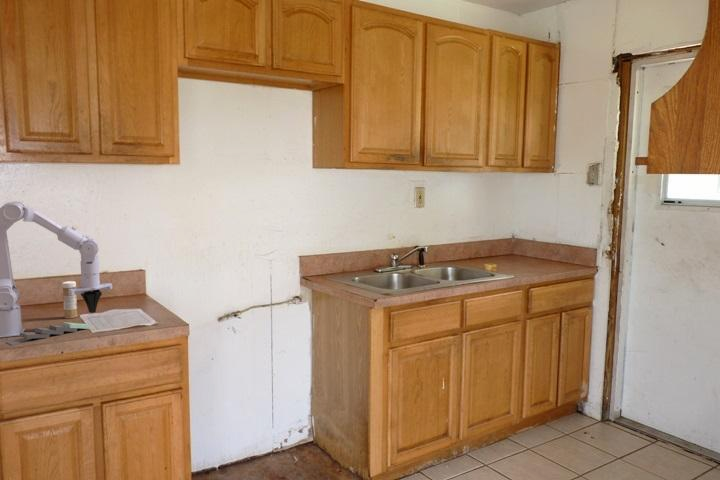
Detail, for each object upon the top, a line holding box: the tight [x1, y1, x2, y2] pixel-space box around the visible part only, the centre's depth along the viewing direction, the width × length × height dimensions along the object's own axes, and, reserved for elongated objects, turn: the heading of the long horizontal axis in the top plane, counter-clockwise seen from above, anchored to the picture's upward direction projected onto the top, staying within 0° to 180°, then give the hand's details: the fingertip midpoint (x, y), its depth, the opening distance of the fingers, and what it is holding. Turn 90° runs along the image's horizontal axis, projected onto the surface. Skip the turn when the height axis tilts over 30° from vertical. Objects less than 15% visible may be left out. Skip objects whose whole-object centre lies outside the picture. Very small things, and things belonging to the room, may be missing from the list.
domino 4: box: [48, 324, 78, 333], centre depth 188 cm, size 1×5×7 cm
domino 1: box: [5, 338, 32, 346], centre depth 177 cm, size 1×5×7 cm
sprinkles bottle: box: [61, 280, 79, 319], centre depth 208 cm, size 5×5×14 cm
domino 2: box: [19, 331, 51, 340], centre depth 180 cm, size 1×5×7 cm
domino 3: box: [34, 327, 65, 336], centre depth 184 cm, size 1×5×7 cm
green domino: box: [62, 321, 91, 330], centre depth 191 cm, size 1×5×7 cm
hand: (92, 312), depth 195 cm, fingers closed
